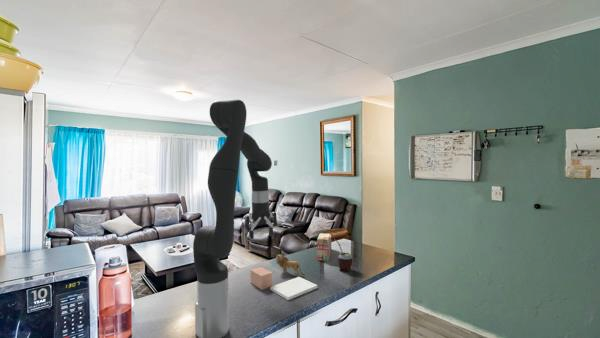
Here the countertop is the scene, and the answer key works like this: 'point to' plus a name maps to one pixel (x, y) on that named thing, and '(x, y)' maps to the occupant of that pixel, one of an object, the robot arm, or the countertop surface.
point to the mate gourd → (344, 260)
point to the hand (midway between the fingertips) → (261, 237)
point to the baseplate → (293, 288)
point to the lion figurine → (287, 264)
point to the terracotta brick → (261, 278)
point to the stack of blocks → (323, 247)
